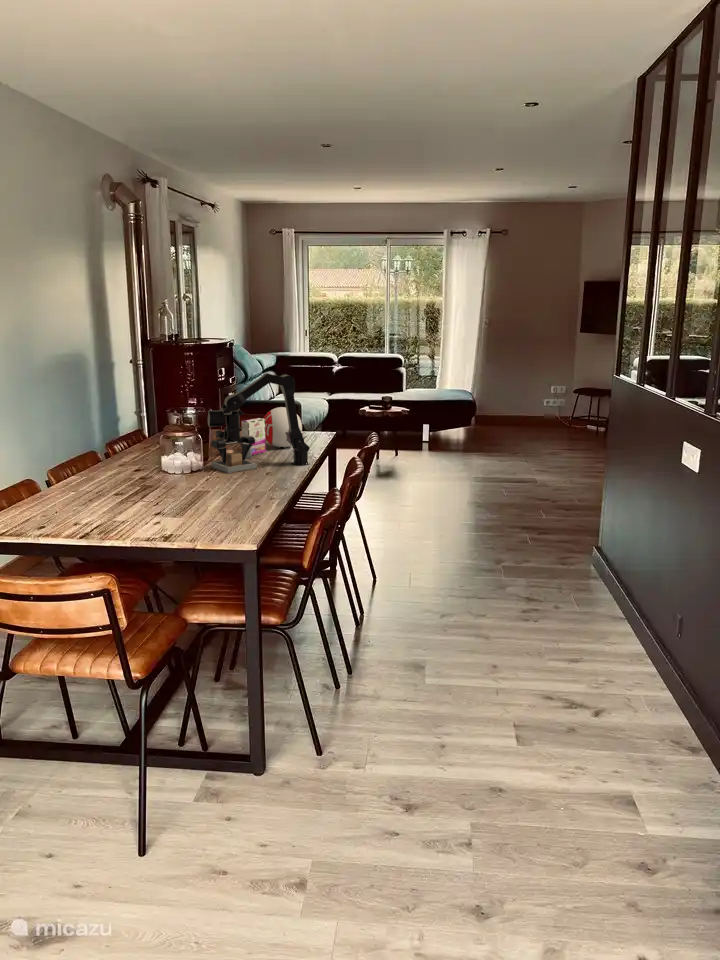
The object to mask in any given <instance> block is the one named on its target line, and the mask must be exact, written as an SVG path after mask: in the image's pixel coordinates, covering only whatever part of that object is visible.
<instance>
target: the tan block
mask: <svg viewBox="0 0 720 960" xmlns="http://www.w3.org/2000/svg"><path fill="white" fill-rule="evenodd" d="M232 452H234V450H232V449H227V450H226V453H232ZM221 461H223V460H222V459H221Z"/></svg>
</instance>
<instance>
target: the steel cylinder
mask: <svg viewBox="0 0 720 960" xmlns="http://www.w3.org/2000/svg"><path fill="white" fill-rule="evenodd" d="M251 458H252V459H253V456H252V449H251V447H250V449H249V451H248V453H247V455H246V457H245V459H251ZM252 459H251V460H252Z"/></svg>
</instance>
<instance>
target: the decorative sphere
mask: <svg viewBox="0 0 720 960" xmlns="http://www.w3.org/2000/svg"><path fill="white" fill-rule="evenodd" d="M263 419H265V437H266V443H268V444H269V445H271V446H274V447H276V448H280V447H284V448H288V447H290V446H291V445H290V444H289V442H288V441H286V440H287V436H286V433H285V432H288V431H289V424H288V418H287V411H286V406H284V407H283V406H280V407H279V406H278V407H275V408H273V409H271V410H269V411H268V412H267V413H266V414H265V415H264V416H263ZM297 419H298V425H299V428H300V431H301V433H302V431H303V424H302V420H301V417H300V416H299V415H298V414H297Z"/></svg>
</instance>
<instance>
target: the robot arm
mask: <svg viewBox="0 0 720 960" xmlns="http://www.w3.org/2000/svg"><path fill="white" fill-rule="evenodd" d="M269 384H272V385H273V384H274V385H277V386H279V389H280V390H281V392H282V395H283V399H284V404H285V408H286V411H287V418H288V424H289V431H288V432H285V433H286V436H287V440H286V441H288V442H289V444H290V445H291V446H292V449H293V457H292V458H293V461H291V462H290V464H291V463H293V464H292V465H295V464H296V465H295V466H298V465H300V466H302V465H301V464H306V463H308V452H309V450H310V446H309V445H308V444H307V443H306V442H305V437H304V435H303V433H302V432H301V431H300V428H299V425H298V419H297V415H298V413H297V407H296V400H295V390H296V380H295V378H294V377H293V376H292V375H290V374H289V375H288V374H281V375H278V374H271V373H269V372H265V373H264V374H262V376H260V377H258V378H257V379H256V380H254V381H252V383H249V384H248V385H247V386H246V387H244V388H243V389H242V390H240V391H236V392H234V393H232V394H229V395H227V396H226V397H225V399H224V404H223V405H222V406H221V408H220V409H219V410H208V411H207V412H208V415H207V426H208V428H209V427H211V428H213V427H223V425H225V427H224V429H223V431H222V430H221V429H220V430H218V429H217V430H215V437H216V439H212V440H211V442H210V446H211V448H214V449H216V450H217V451H218V452H219V454H220V457H221V461H222V460H223V462H224V463H226V450H228V449H227V447H226V446H228V445H236V444H240V446H241V454H242V460H245V457H246V455H247V453H248V451H249V449H250V447H251V446H253V444H255V438H254V437H252V436H242V435H241V432H242V427H240V426H241V425H240V416H244V415H245V413H244V412H243V411H242V410H241V409H240V408H241V407H242V405H244V403H246V401H247V400H248V399H249V398H250V397H252V396H253V395H254V394H256V393H257V392H258V391H260V390H262V389H263V388H264V387H266V386H267V385H269Z"/></svg>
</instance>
